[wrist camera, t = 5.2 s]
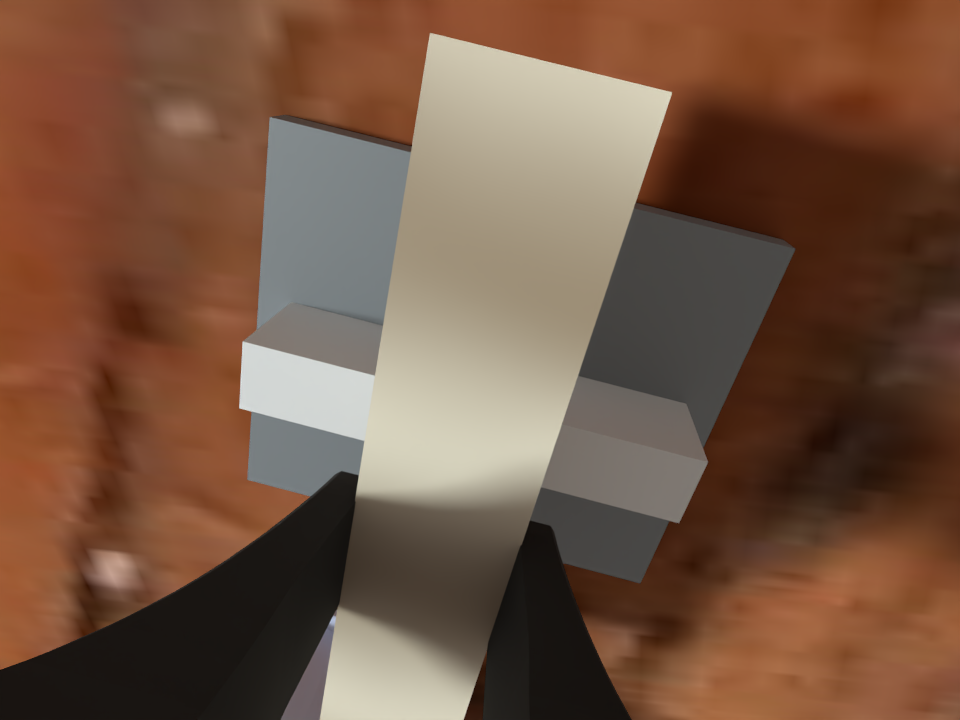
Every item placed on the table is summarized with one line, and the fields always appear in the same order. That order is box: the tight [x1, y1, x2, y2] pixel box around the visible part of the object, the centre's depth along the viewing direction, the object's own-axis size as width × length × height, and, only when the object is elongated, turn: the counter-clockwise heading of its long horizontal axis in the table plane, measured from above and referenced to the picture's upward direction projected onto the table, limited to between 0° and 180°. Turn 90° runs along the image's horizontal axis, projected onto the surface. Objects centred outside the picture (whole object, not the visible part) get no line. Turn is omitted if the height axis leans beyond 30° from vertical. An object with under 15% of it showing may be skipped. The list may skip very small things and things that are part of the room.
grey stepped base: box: [239, 115, 795, 583], centre depth 17 cm, size 12×14×4 cm
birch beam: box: [320, 33, 672, 720], centre depth 13 cm, size 18×3×4 cm, turn 167°
